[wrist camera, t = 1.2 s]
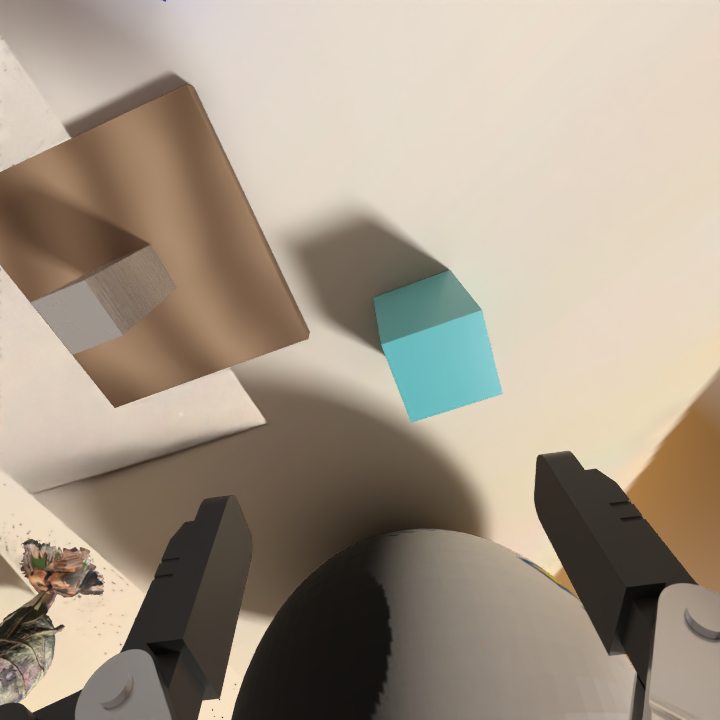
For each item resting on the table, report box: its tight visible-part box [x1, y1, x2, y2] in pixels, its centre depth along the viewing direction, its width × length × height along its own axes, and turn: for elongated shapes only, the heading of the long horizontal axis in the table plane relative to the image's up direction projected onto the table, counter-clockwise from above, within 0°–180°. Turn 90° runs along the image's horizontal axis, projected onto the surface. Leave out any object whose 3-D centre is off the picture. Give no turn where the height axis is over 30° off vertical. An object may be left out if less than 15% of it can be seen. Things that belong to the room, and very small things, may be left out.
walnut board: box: [0, 84, 310, 408], centre depth 27 cm, size 16×16×1 cm
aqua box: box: [373, 270, 502, 422], centre depth 27 cm, size 6×6×8 cm
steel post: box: [31, 245, 177, 355], centre depth 23 cm, size 3×3×8 cm
